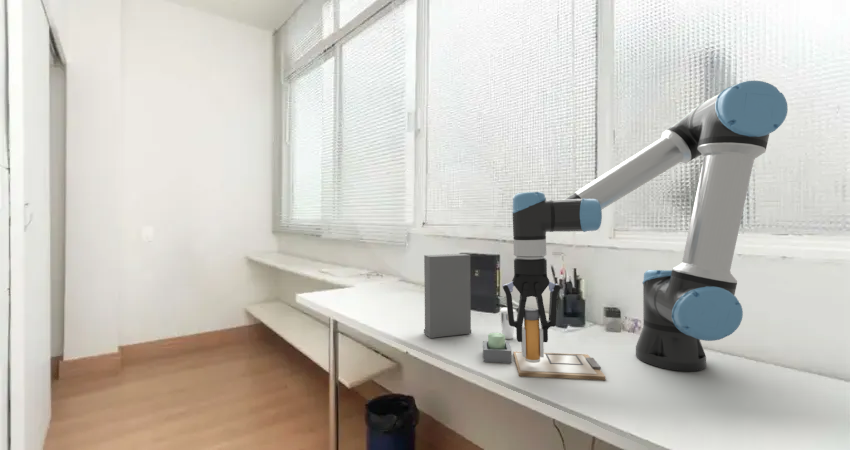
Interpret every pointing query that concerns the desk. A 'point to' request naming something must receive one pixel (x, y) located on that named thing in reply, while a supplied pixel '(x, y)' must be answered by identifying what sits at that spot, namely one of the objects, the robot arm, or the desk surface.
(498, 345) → the button
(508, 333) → the milkshake
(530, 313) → the orange capped bottle
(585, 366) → the clipboard
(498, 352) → the button housing
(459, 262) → the tall grey upright box
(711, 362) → the desk surface
